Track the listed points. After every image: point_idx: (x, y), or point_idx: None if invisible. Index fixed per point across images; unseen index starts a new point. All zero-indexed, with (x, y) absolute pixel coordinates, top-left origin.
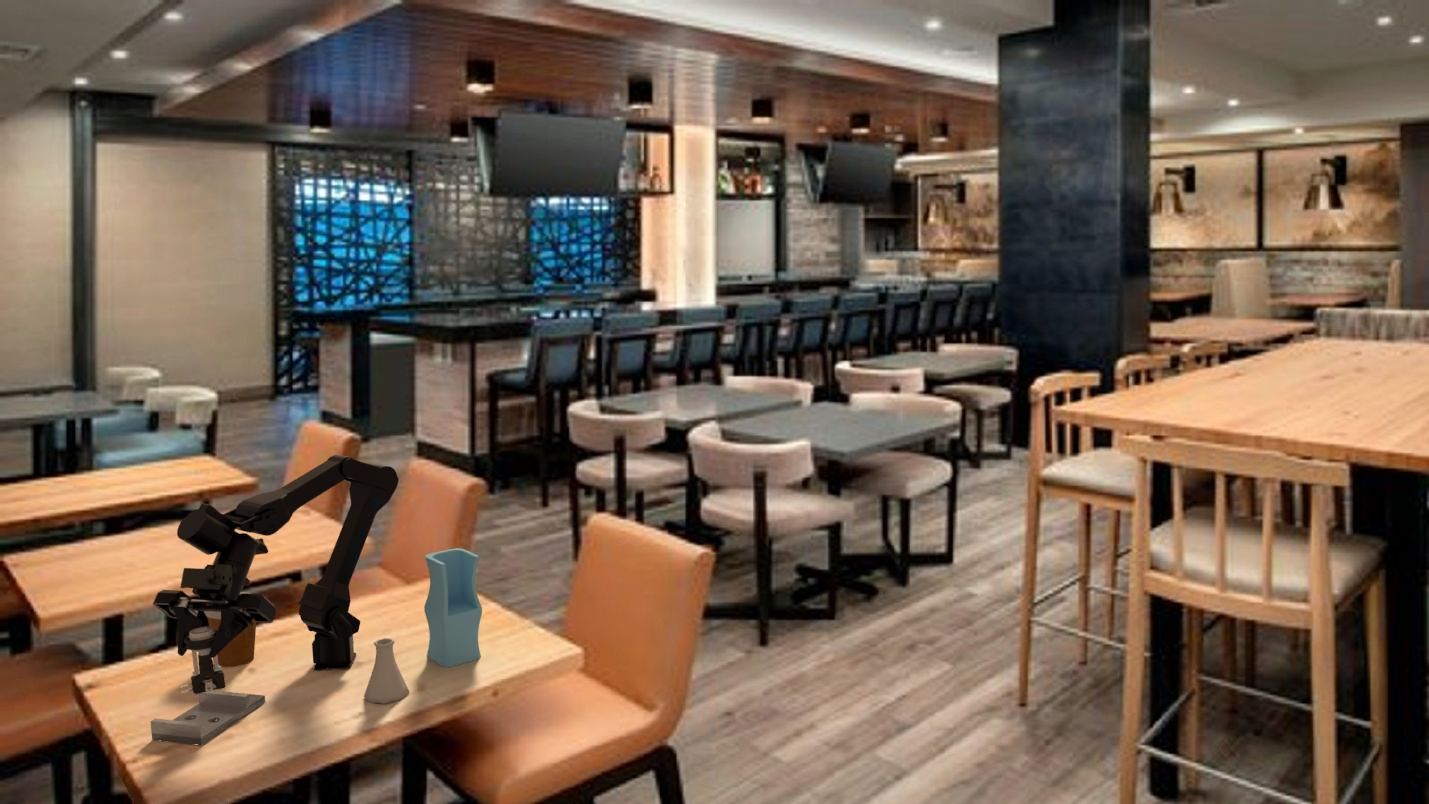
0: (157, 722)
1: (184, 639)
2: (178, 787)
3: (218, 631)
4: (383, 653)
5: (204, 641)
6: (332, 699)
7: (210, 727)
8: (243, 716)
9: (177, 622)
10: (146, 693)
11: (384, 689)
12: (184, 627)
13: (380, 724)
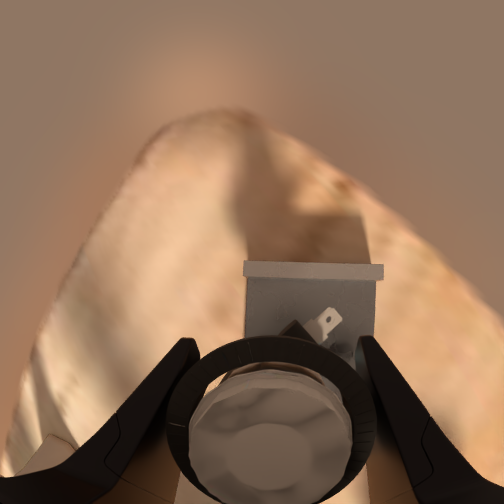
0: (364, 264)
1: (357, 379)
2: (197, 128)
3: (132, 432)
4: None
5: (197, 362)
6: None
7: (262, 316)
8: None
9: (470, 465)
10: (491, 432)
11: (40, 446)
12: (404, 451)
13: (27, 369)
